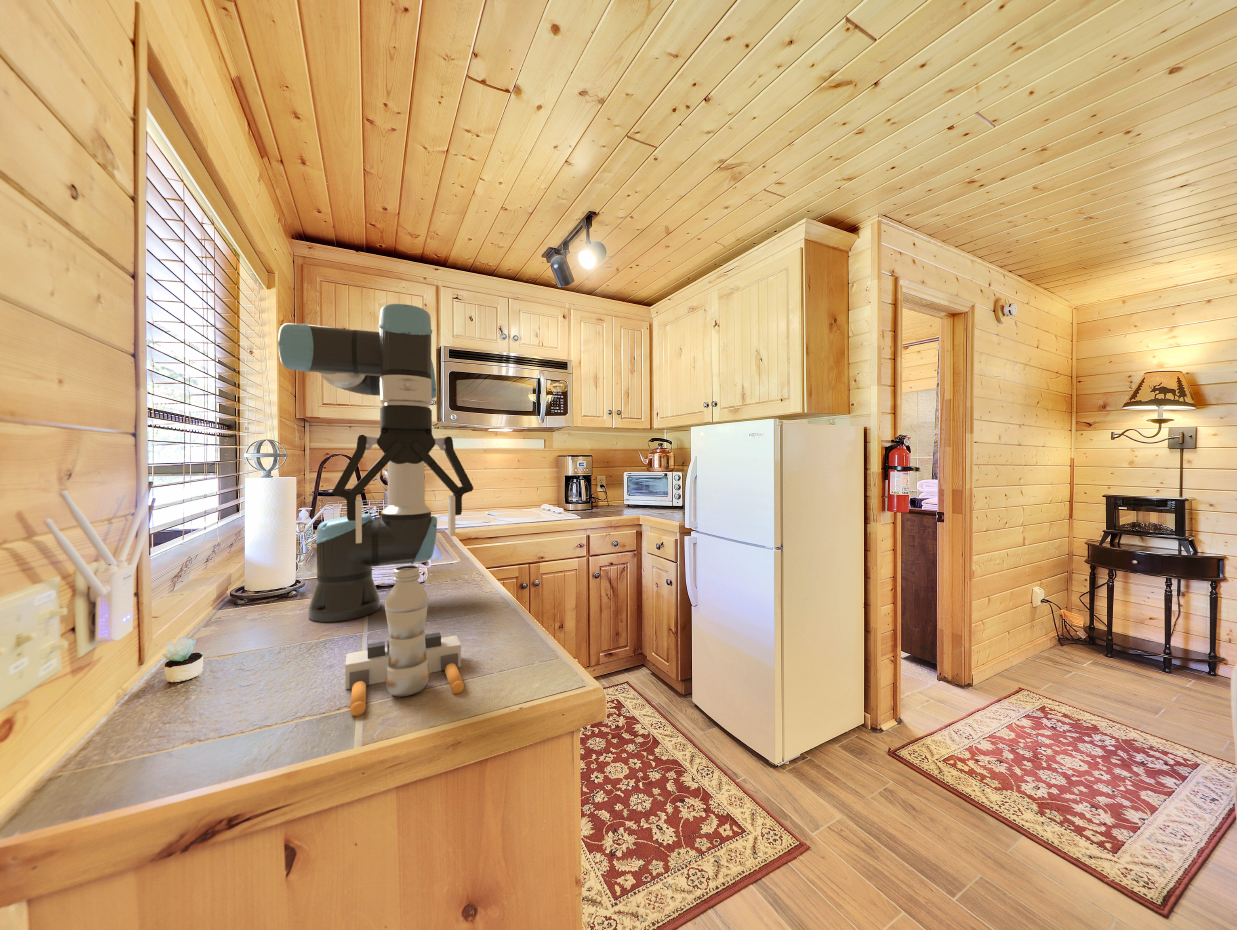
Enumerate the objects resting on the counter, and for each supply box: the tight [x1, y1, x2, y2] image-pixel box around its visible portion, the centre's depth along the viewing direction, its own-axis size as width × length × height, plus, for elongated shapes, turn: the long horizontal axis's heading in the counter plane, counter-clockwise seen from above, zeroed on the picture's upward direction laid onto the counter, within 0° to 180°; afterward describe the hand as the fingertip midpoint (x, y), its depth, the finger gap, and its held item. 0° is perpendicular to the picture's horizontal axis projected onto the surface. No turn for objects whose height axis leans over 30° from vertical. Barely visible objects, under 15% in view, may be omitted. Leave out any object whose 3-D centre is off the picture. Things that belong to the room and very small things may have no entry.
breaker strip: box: [344, 632, 462, 690], centre depth 83 cm, size 6×18×6 cm, turn 117°
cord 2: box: [444, 663, 465, 695], centre depth 79 cm, size 9×2×2 cm, turn 28°
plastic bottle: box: [384, 564, 431, 697], centre depth 76 cm, size 6×7×20 cm
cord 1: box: [349, 681, 367, 717], centre depth 72 cm, size 9×2×2 cm, turn 27°
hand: (407, 538), depth 76 cm, fingers open, 13 cm apart
